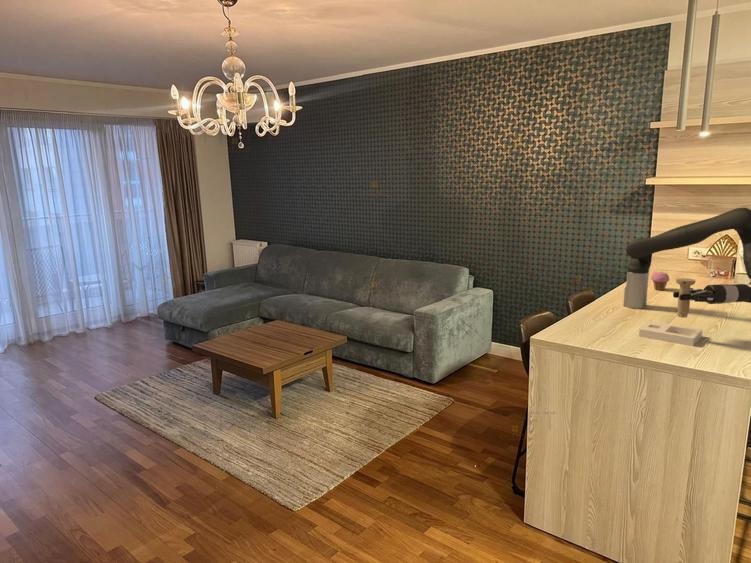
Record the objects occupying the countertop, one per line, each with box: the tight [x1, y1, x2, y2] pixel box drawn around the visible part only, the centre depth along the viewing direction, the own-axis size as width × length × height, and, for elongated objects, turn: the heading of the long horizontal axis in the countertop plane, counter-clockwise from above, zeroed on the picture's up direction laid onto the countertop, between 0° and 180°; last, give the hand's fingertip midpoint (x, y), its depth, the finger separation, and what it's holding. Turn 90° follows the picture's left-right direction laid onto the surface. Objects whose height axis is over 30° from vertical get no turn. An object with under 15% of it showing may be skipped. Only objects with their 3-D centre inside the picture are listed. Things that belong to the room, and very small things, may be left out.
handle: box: [675, 277, 696, 319], centre depth 196 cm, size 5×6×15 cm
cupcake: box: [650, 271, 670, 291], centre depth 274 cm, size 9×9×10 cm
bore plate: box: [638, 320, 703, 347], centre depth 201 cm, size 19×14×3 cm
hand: (677, 296), depth 195 cm, fingers closed on handle, 3 cm apart
